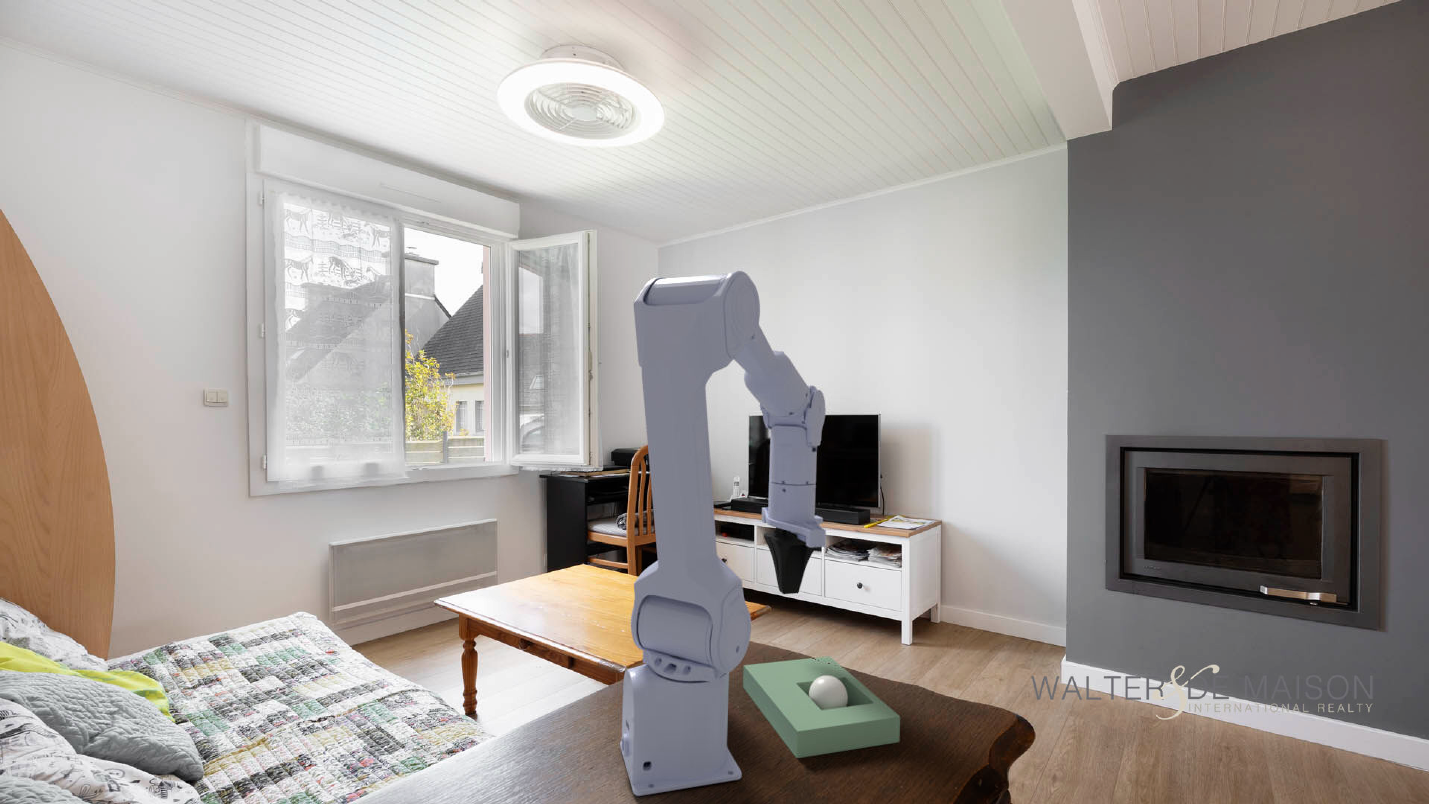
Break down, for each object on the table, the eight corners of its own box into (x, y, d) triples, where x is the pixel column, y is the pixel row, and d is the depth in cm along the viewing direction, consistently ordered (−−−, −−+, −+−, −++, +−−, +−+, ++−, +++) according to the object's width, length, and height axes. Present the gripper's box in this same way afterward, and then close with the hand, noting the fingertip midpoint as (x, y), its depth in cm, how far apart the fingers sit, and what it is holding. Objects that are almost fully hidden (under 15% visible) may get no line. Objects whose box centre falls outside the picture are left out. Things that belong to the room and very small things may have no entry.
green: (796, 758, 57) (797, 731, 57) (742, 687, 71) (743, 665, 71) (899, 742, 61) (900, 716, 61) (828, 676, 75) (829, 656, 75)
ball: (805, 669, 65) (806, 691, 68) (811, 706, 62) (813, 727, 64) (843, 665, 65) (843, 687, 68) (851, 701, 62) (851, 723, 64)
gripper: (851, 490, 71) (847, 609, 71) (796, 474, 85) (793, 573, 85) (794, 491, 69) (790, 614, 69) (748, 474, 83) (745, 576, 83)
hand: (788, 592), depth 77 cm, fingers closed
